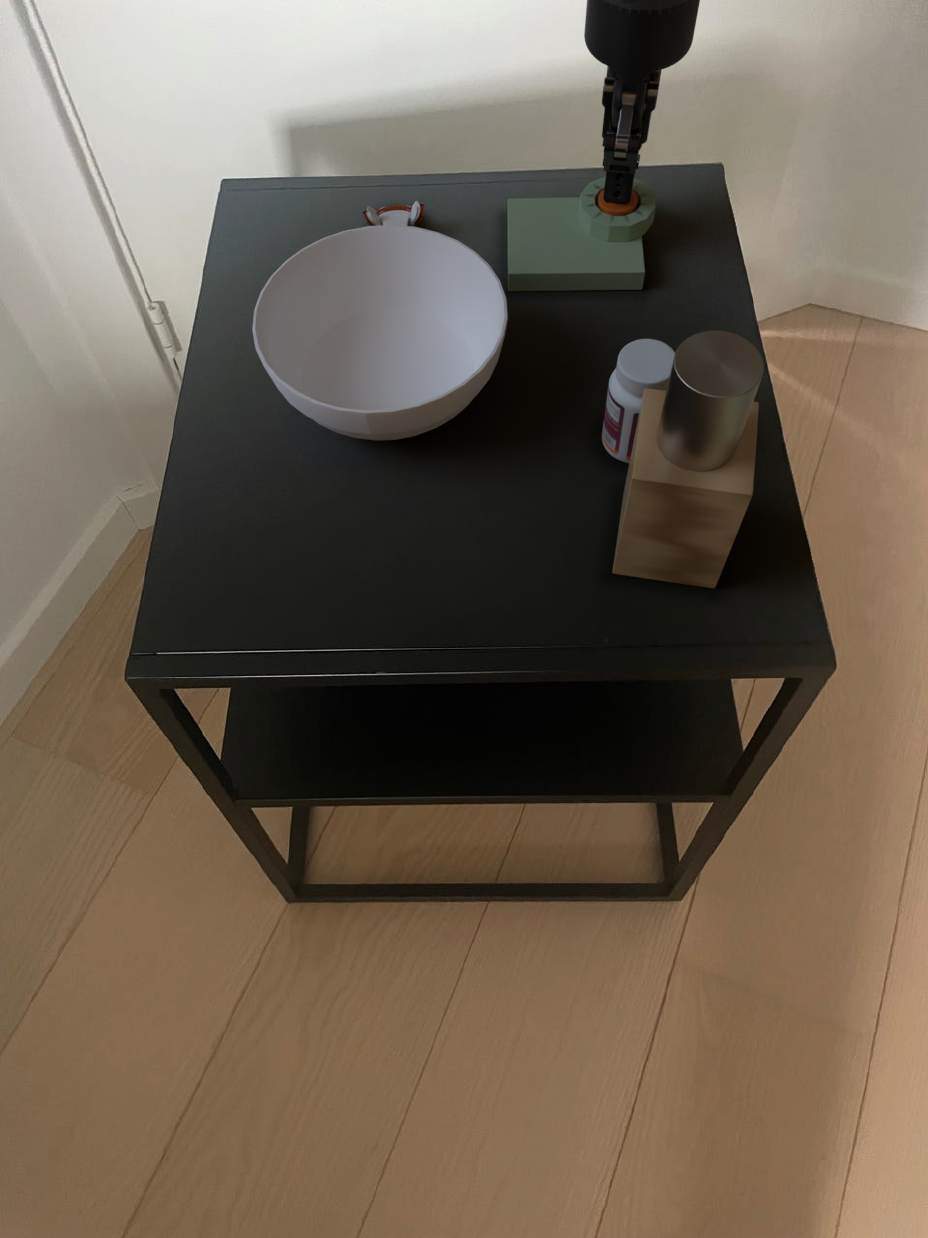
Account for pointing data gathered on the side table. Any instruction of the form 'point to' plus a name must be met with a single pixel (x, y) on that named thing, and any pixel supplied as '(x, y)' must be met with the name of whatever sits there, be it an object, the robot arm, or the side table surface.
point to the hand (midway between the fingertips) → (617, 197)
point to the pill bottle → (633, 391)
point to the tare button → (618, 206)
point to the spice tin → (708, 399)
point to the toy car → (395, 215)
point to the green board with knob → (577, 242)
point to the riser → (681, 506)
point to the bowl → (381, 330)
